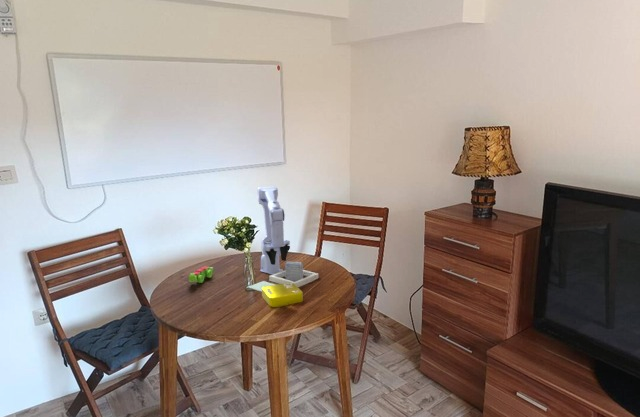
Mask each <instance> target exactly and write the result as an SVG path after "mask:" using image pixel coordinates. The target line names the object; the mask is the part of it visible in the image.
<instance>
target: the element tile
mask: <svg viewBox="0 0 640 417" xmlns="http://www.w3.org/2000/svg"><path fill="white" fill-rule="evenodd" d="M303 294H304V293H303V291H302V290H301V289H300V287H297V286H296V285H295V284H294V283H291V282H290V283H284V284H278V283H276V284H275V285H271V286H265V287H262V292H261V296H262V298H263V299H264V301H265V302H266V304H268V306H269V307H271V308H279V307H284V306H290V305H293V304H297V303H302V302H303V301H304V295H303Z"/></svg>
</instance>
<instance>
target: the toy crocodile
mask: <svg viewBox="0 0 640 417" xmlns="http://www.w3.org/2000/svg"><path fill="white" fill-rule="evenodd" d="M213 271H214V267H210V266H202V267H200V268H198V269H196V270H195V271H193V272H190V273H189V276H188V282H189V283H199V284H203V283H204V281H205V277H207V278H212V277H213V274H214V273H213Z"/></svg>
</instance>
